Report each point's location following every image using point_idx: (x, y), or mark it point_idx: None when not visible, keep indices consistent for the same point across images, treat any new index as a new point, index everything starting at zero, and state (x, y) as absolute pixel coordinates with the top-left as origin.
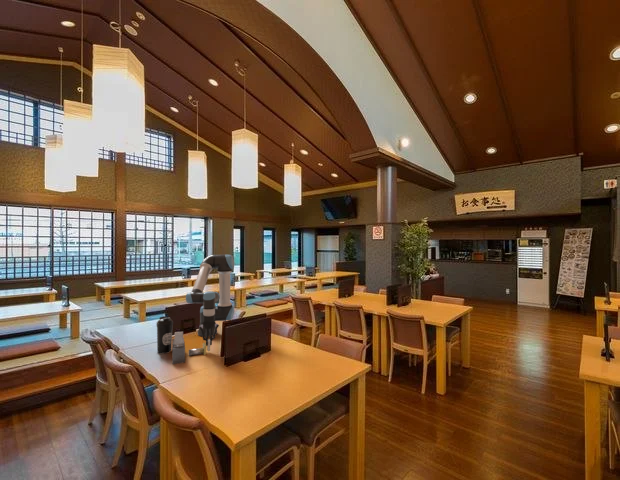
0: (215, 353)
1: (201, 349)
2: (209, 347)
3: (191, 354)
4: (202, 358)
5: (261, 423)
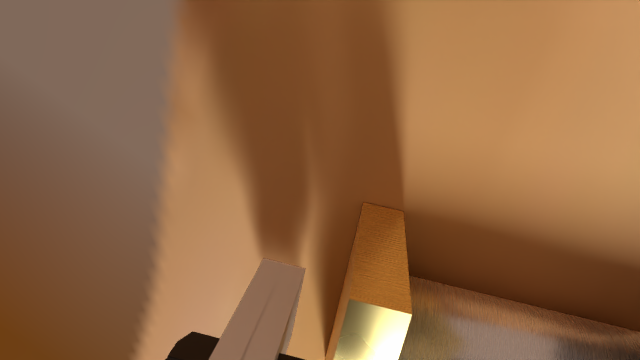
0: (198, 167)
1: (432, 330)
2: (259, 298)
3: (617, 326)
4: (500, 47)
5: None
